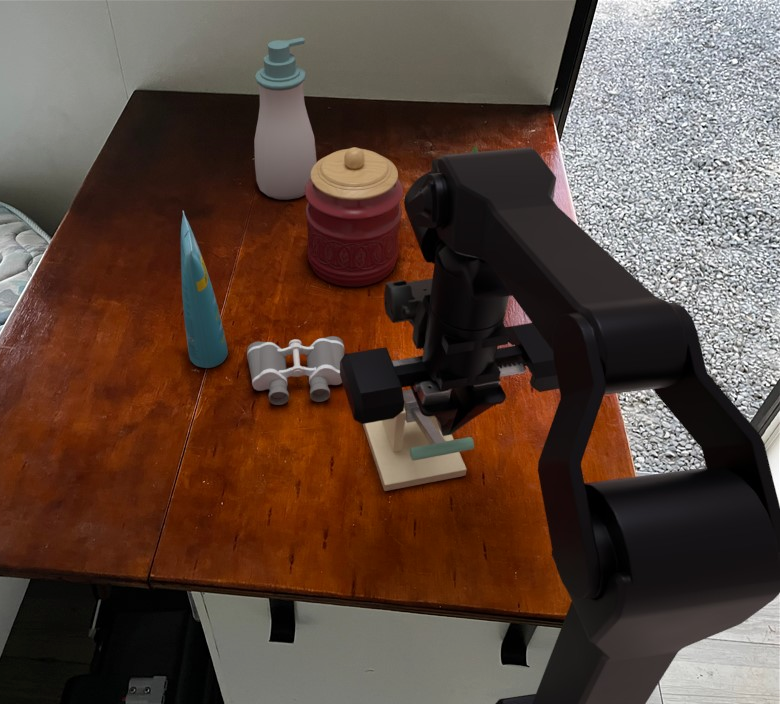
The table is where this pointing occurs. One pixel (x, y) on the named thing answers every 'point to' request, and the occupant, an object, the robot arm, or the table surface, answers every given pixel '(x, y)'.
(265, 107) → the soap bottle
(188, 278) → the tube
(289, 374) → the binoculars
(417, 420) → the lever
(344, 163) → the kitchen canister
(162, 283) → the table surface
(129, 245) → the table surface
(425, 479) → the toaster bracket
